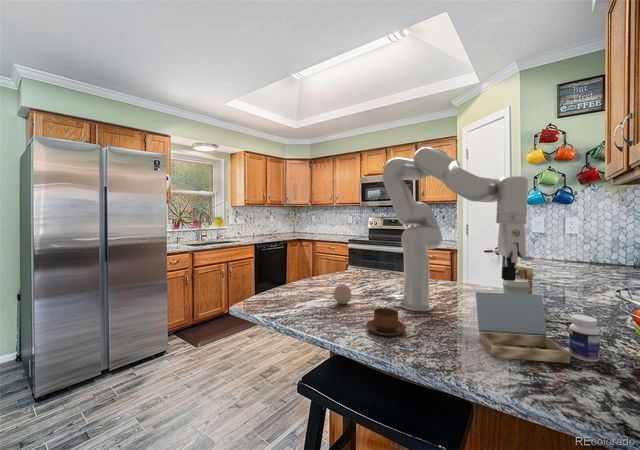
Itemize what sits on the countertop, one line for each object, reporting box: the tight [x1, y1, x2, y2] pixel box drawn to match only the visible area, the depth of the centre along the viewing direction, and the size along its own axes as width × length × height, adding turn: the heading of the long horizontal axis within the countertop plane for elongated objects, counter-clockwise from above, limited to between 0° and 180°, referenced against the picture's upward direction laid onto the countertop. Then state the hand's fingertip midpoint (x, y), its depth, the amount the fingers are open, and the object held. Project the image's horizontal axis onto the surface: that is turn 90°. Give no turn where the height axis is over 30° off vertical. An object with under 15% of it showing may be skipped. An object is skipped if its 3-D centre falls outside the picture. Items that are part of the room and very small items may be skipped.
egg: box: [333, 283, 352, 305], centre depth 121 cm, size 7×7×8 cm
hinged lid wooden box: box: [478, 331, 571, 364], centre depth 78 cm, size 17×10×2 cm, turn 79°
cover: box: [475, 291, 548, 337], centre depth 84 cm, size 17×11×1 cm
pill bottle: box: [568, 314, 601, 363], centre depth 74 cm, size 6×6×10 cm
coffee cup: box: [501, 278, 530, 294], centre depth 109 cm, size 8×9×12 cm
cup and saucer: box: [366, 307, 407, 337], centre depth 92 cm, size 12×12×6 cm
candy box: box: [515, 265, 534, 294], centre depth 118 cm, size 9×4×15 cm, turn 26°
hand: (508, 279), depth 89 cm, fingers closed
